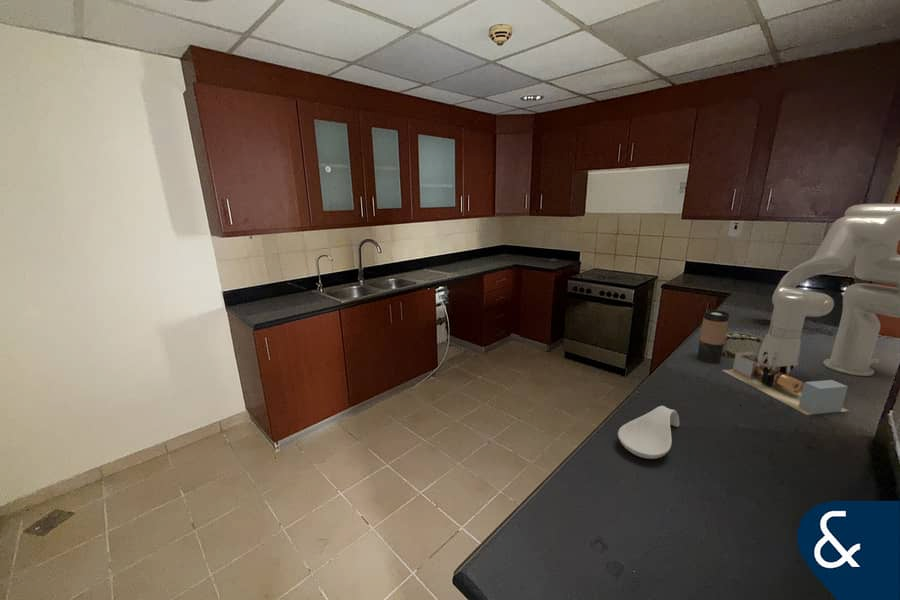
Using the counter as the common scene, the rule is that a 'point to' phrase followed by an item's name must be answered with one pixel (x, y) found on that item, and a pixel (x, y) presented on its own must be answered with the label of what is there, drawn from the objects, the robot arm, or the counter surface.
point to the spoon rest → (649, 433)
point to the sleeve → (746, 365)
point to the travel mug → (712, 336)
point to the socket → (823, 396)
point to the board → (775, 392)
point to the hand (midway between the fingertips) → (773, 383)
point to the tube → (782, 379)
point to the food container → (741, 343)
